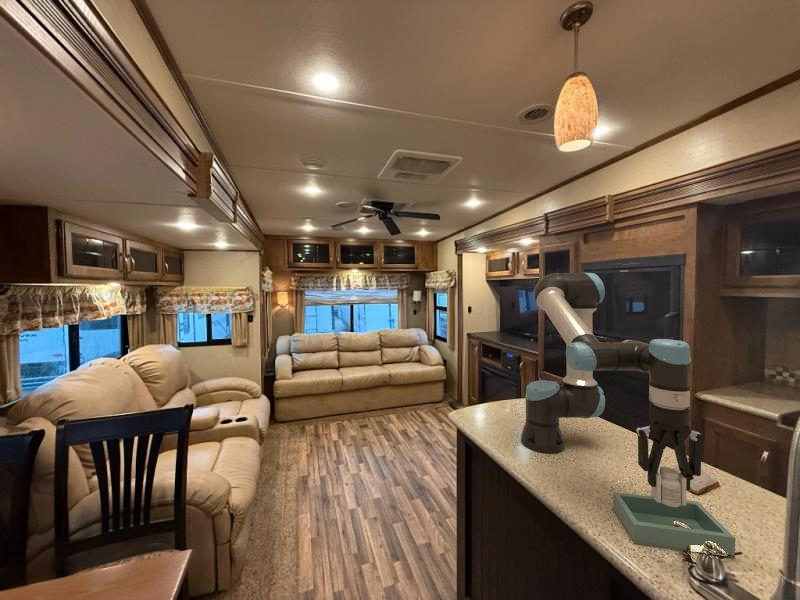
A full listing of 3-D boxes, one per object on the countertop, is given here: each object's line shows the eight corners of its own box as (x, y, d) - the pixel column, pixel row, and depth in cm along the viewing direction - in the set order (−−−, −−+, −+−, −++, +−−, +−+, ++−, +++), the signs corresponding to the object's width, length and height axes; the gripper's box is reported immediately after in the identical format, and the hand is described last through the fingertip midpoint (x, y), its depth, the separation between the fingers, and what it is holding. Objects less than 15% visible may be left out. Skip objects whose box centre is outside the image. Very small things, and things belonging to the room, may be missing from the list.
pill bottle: (657, 494, 81) (657, 463, 81) (680, 500, 79) (680, 469, 78) (656, 502, 78) (656, 471, 78) (681, 510, 75) (681, 477, 75)
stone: (658, 477, 101) (658, 466, 101) (682, 469, 105) (683, 459, 105) (697, 497, 92) (697, 485, 91) (723, 488, 96) (723, 476, 95)
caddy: (612, 508, 87) (613, 492, 87) (697, 519, 83) (698, 501, 82) (634, 543, 75) (634, 524, 75) (734, 558, 71) (735, 537, 70)
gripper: (634, 407, 76) (634, 505, 77) (724, 413, 72) (723, 516, 73) (621, 397, 83) (620, 486, 84) (701, 401, 79) (700, 495, 80)
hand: (668, 500), depth 78 cm, fingers closed on pill bottle, 4 cm apart
